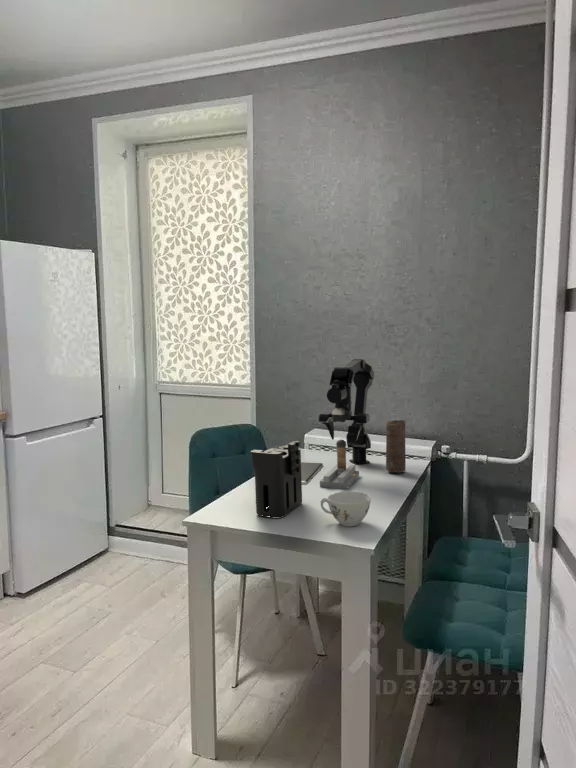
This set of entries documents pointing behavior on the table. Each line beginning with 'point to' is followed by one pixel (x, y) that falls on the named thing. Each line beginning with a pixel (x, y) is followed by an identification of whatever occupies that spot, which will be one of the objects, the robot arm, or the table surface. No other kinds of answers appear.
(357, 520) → the teacup
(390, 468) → the candle
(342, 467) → the lever
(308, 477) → the smartphone
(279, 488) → the black machined bracket
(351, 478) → the slider console
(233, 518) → the table surface
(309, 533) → the table surface
